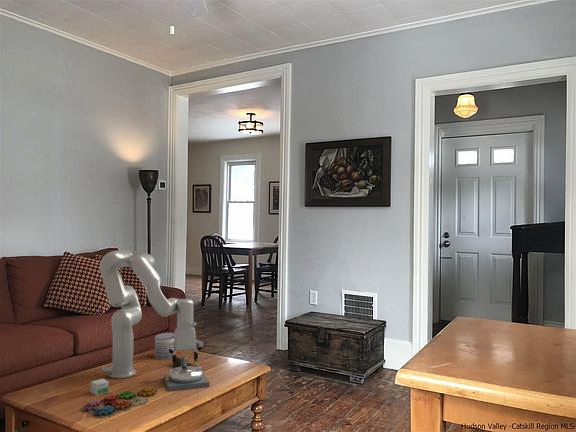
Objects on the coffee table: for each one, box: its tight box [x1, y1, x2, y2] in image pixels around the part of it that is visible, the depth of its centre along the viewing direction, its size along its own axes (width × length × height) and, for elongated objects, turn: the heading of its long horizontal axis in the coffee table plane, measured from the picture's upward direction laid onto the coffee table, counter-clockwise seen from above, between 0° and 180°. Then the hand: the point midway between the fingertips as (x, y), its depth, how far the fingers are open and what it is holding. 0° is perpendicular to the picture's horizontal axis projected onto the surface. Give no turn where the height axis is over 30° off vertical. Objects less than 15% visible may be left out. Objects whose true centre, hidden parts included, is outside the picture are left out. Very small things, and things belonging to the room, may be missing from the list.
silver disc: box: [168, 355, 204, 383], centre depth 216 cm, size 15×15×8 cm
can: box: [154, 332, 175, 360], centre depth 257 cm, size 11×11×12 cm
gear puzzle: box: [80, 386, 158, 419], centre depth 191 cm, size 31×16×4 cm, turn 144°
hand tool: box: [172, 356, 198, 368], centre depth 236 cm, size 19×4×5 cm, turn 44°
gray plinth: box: [163, 372, 210, 392], centre depth 216 cm, size 18×18×5 cm
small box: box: [90, 378, 110, 396], centre depth 201 cm, size 6×6×5 cm
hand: (185, 361), depth 221 cm, fingers open, 9 cm apart
